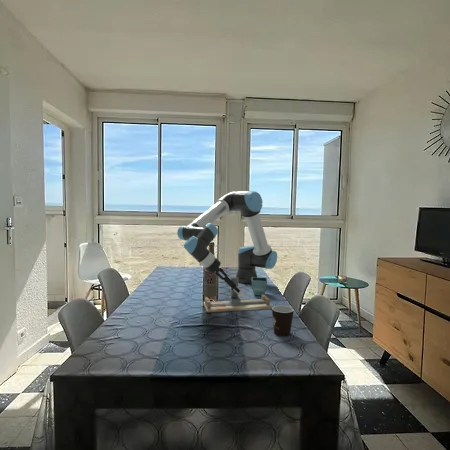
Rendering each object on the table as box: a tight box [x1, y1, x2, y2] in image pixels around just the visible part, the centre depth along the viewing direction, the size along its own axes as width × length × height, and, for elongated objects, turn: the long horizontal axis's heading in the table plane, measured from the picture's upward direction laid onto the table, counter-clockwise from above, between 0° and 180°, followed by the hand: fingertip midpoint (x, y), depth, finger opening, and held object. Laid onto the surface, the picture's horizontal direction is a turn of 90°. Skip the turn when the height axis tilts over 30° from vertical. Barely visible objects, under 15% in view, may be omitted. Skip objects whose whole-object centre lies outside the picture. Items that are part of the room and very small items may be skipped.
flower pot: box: [251, 276, 268, 296], centre depth 184 cm, size 9×9×9 cm
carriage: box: [227, 276, 242, 304], centre depth 161 cm, size 7×4×12 cm, turn 13°
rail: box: [203, 294, 272, 313], centre depth 162 cm, size 12×32×4 cm, turn 103°
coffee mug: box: [271, 305, 294, 338], centre depth 131 cm, size 12×9×10 cm
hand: (241, 294), depth 162 cm, fingers open, 4 cm apart
